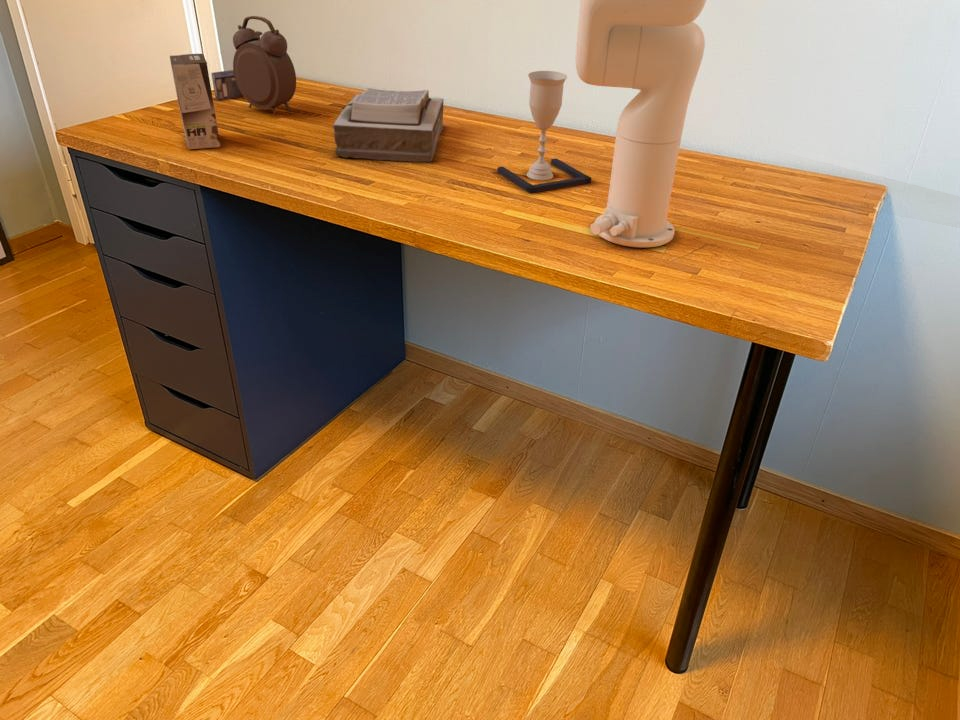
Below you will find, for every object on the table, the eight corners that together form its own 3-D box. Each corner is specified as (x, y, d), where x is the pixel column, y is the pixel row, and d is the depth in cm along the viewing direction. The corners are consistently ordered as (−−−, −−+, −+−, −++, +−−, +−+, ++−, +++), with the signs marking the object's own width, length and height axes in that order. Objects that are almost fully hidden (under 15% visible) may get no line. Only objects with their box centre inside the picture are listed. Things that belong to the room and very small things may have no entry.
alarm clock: (304, 112, 169) (294, 18, 158) (281, 119, 164) (270, 22, 153) (259, 102, 175) (247, 10, 164) (236, 108, 170) (221, 14, 159)
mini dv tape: (218, 100, 176) (213, 74, 172) (215, 98, 177) (211, 72, 173) (250, 95, 180) (246, 69, 177) (247, 94, 181) (243, 68, 178)
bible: (313, 155, 144) (308, 104, 139) (363, 118, 166) (360, 73, 160) (426, 168, 140) (426, 115, 134) (463, 128, 162) (463, 82, 156)
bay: (591, 183, 136) (591, 177, 135) (529, 193, 130) (530, 188, 130) (555, 163, 144) (556, 158, 144) (497, 172, 139) (497, 167, 138)
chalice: (555, 183, 135) (564, 81, 125) (519, 180, 136) (525, 78, 126) (560, 170, 141) (569, 72, 131) (525, 167, 142) (531, 69, 132)
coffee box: (221, 147, 147) (207, 62, 138) (187, 150, 145) (170, 64, 136) (217, 134, 154) (203, 52, 145) (185, 136, 152) (168, 54, 143)
